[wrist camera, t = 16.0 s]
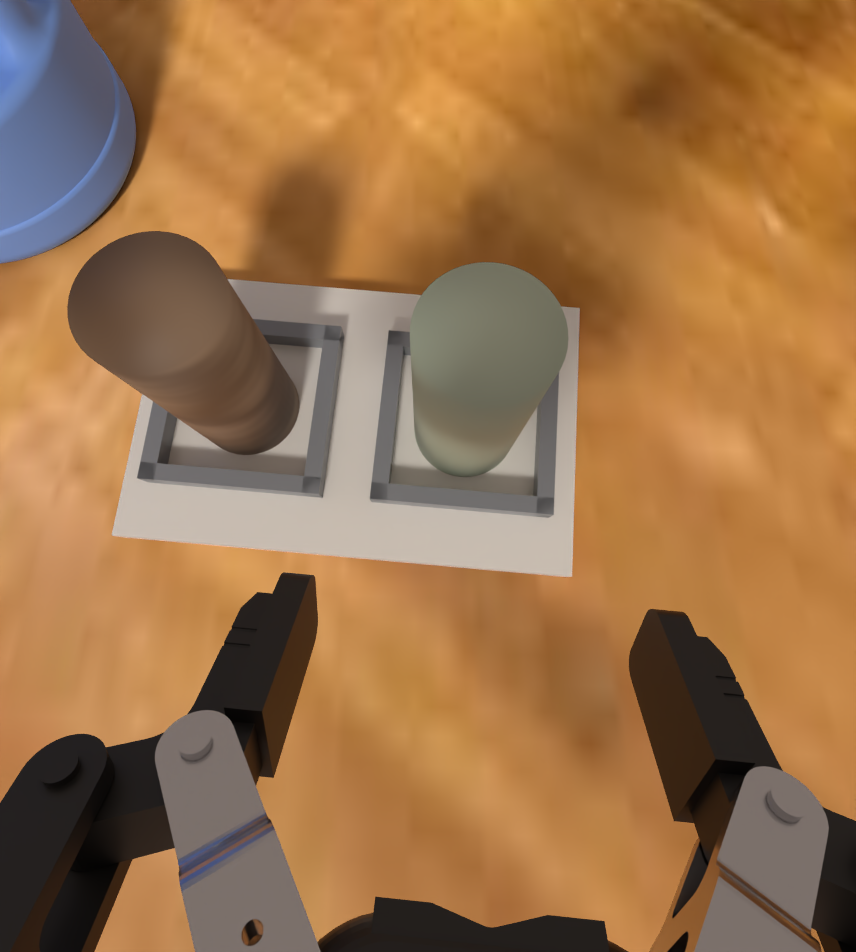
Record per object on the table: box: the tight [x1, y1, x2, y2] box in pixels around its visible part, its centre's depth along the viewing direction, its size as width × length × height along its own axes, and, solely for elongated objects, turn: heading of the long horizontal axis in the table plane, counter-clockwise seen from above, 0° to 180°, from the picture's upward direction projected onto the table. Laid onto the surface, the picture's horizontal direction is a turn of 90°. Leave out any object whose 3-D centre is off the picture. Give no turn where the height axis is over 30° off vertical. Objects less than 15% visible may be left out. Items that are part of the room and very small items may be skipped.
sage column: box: [410, 262, 569, 477], centre depth 21 cm, size 5×5×10 cm
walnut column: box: [68, 231, 299, 455], centre depth 22 cm, size 5×5×10 cm
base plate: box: [112, 279, 580, 577], centre depth 26 cm, size 22×14×2 cm, turn 85°
